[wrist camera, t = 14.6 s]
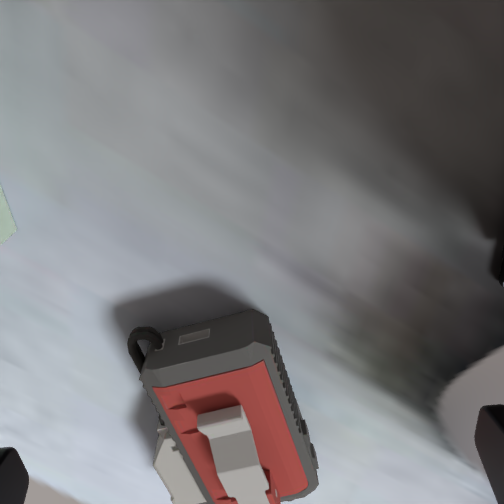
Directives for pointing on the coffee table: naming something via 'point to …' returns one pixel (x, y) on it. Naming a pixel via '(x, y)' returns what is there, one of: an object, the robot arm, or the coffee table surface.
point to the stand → (5, 219)
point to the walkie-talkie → (225, 413)
